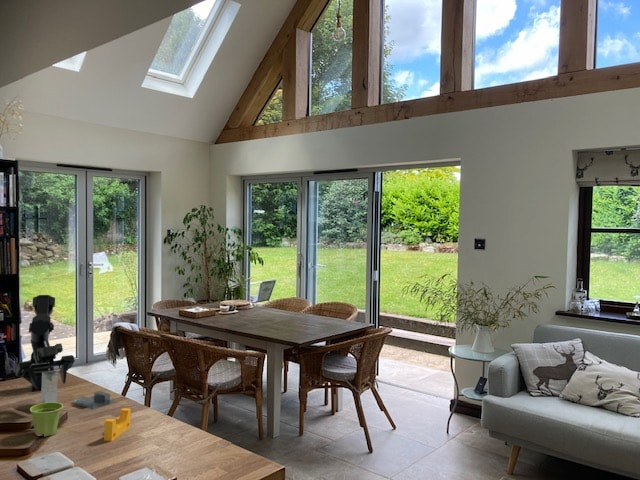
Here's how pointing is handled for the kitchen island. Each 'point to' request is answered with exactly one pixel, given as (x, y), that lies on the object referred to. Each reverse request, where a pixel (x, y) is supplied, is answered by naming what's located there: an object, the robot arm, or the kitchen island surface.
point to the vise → (94, 400)
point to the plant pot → (46, 417)
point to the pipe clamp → (117, 425)
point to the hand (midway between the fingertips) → (51, 385)
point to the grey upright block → (49, 386)
